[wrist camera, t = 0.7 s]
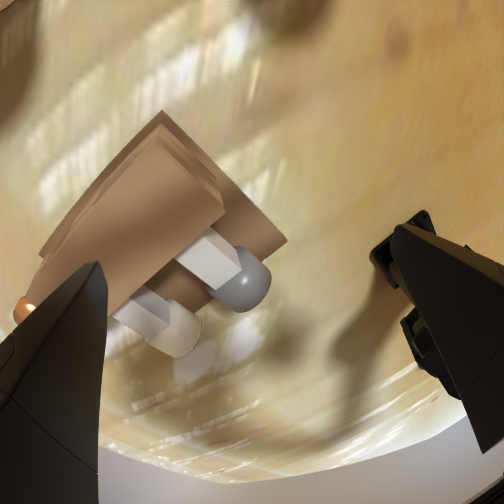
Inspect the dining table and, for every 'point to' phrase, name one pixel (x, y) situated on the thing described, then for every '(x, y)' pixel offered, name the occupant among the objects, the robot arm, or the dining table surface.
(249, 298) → the graphite knob
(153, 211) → the walnut mount
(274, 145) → the dining table surface
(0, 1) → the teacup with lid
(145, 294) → the cream knob
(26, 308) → the copper domed knob
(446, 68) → the dining table surface
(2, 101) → the dining table surface
